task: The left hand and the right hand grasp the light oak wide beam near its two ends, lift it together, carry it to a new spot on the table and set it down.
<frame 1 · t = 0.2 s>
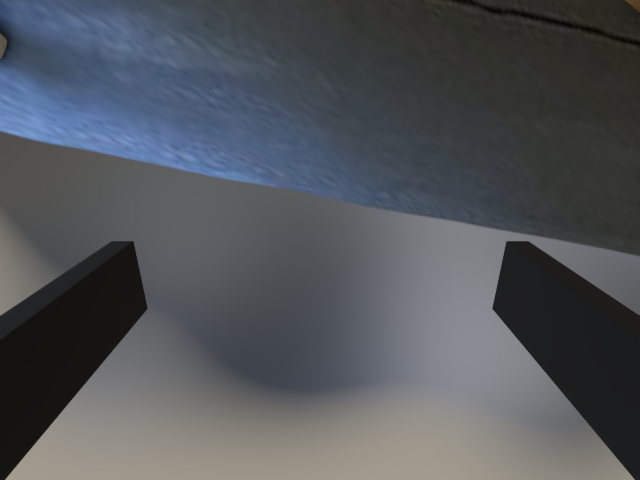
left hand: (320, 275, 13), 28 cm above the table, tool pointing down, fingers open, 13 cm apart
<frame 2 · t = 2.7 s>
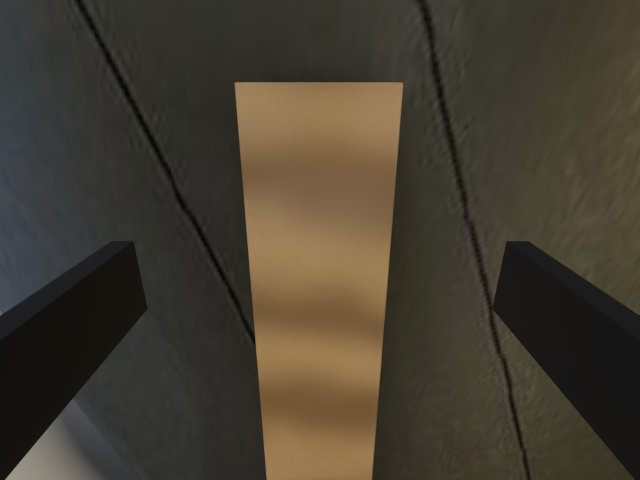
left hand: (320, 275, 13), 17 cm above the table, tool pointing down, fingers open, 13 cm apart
wide beam: (319, 425, 38), on the table, touching right hand
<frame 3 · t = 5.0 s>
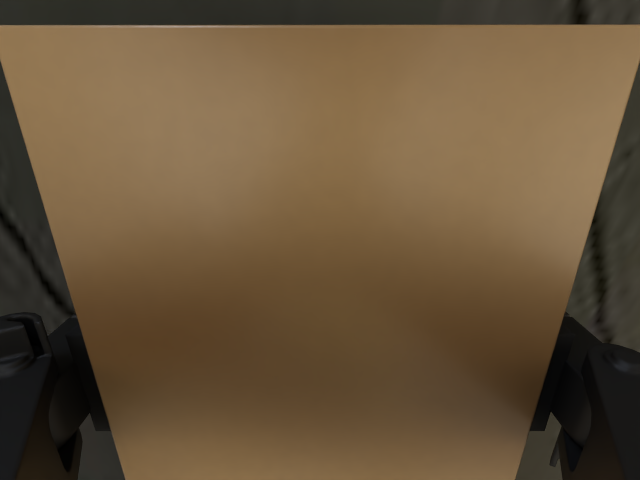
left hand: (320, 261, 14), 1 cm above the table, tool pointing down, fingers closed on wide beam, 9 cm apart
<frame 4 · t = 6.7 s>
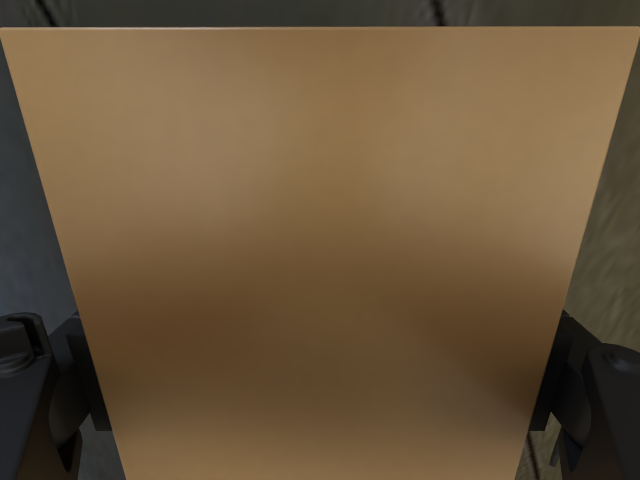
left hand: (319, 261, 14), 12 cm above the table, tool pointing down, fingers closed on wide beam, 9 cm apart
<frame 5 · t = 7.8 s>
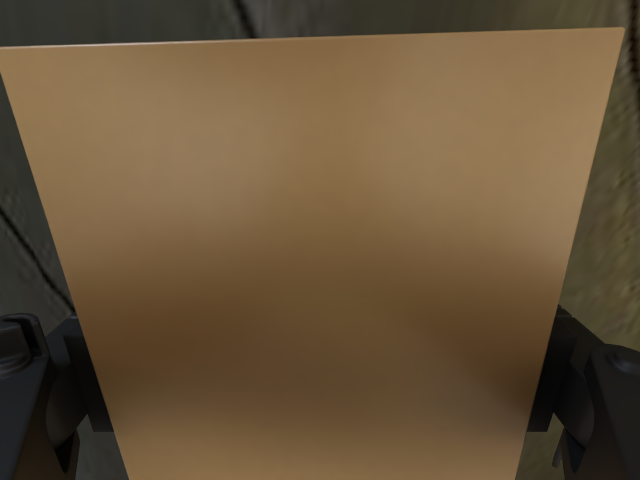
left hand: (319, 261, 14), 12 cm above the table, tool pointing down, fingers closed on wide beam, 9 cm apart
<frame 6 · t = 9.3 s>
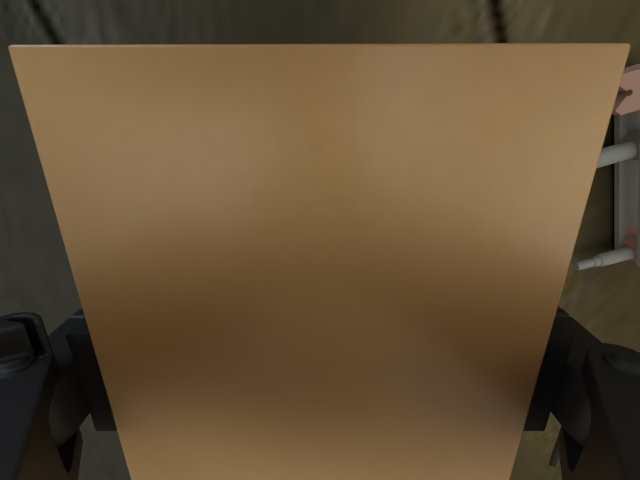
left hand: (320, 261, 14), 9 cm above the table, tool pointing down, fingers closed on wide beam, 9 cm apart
clamp: (623, 196, 22), on the table
when the left hand's fingers open (2 cm above the table, at t = 10.5 s): wide beam drops 2 cm, on the table.
when the right hand's fingers open (2 cm above the table, at t = 10.5 s): wide beam drops 2 cm, on the table.
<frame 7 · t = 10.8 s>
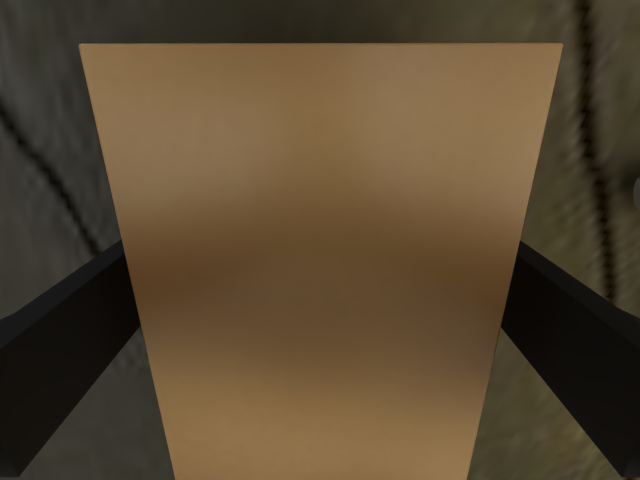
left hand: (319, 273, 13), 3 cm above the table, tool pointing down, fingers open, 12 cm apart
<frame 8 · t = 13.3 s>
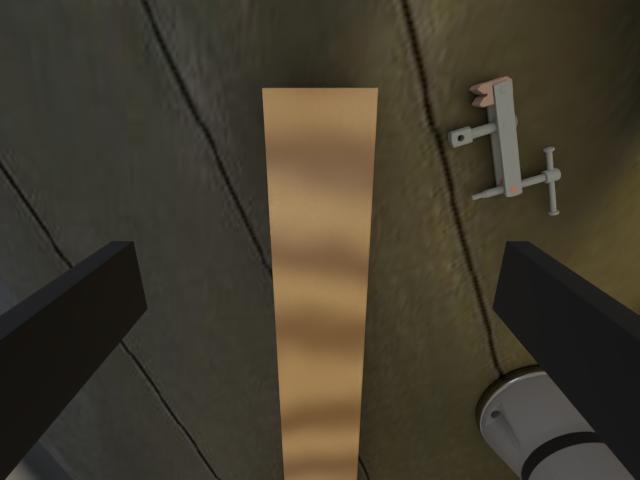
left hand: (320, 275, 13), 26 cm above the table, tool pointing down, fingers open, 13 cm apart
clamp: (498, 156, 37), on the table
wide beam: (320, 365, 46), on the table
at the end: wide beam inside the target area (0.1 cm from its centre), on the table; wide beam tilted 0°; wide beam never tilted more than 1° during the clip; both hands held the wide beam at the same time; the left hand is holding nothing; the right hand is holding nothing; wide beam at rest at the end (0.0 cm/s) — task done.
